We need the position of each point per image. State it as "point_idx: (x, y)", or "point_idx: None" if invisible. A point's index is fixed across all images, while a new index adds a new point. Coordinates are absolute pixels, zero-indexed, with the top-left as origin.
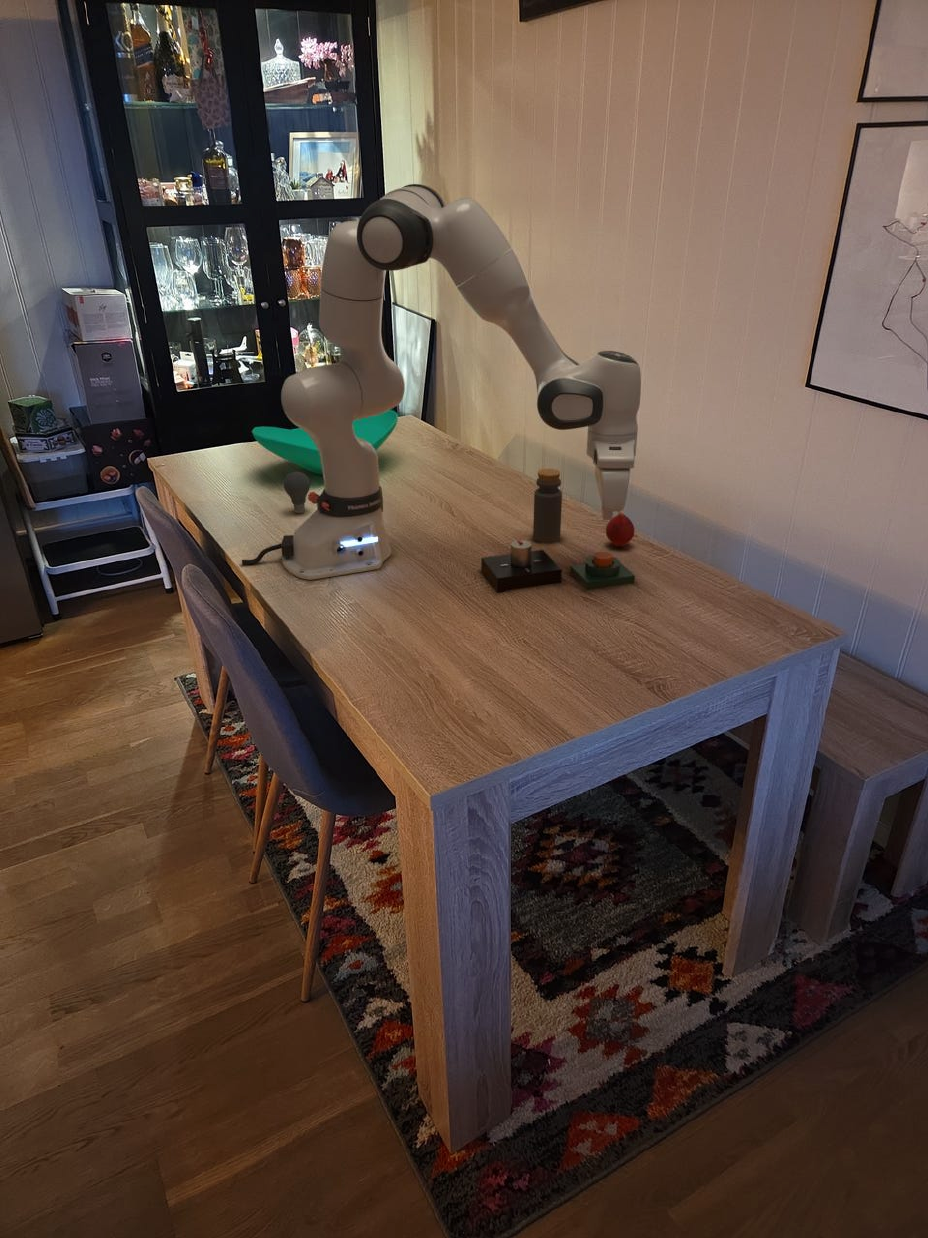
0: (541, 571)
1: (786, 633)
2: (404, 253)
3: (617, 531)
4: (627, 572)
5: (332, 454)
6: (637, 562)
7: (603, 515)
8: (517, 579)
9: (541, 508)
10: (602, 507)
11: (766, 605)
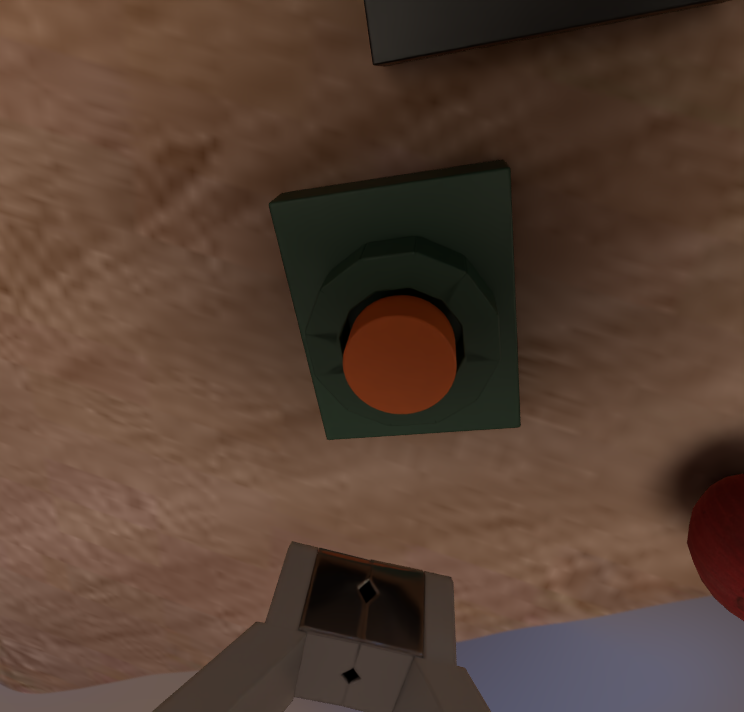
0: None
1: (7, 635)
2: None
3: (734, 537)
4: (361, 422)
5: None
6: (534, 493)
7: (279, 576)
8: None
9: None
10: (392, 649)
11: (158, 663)
